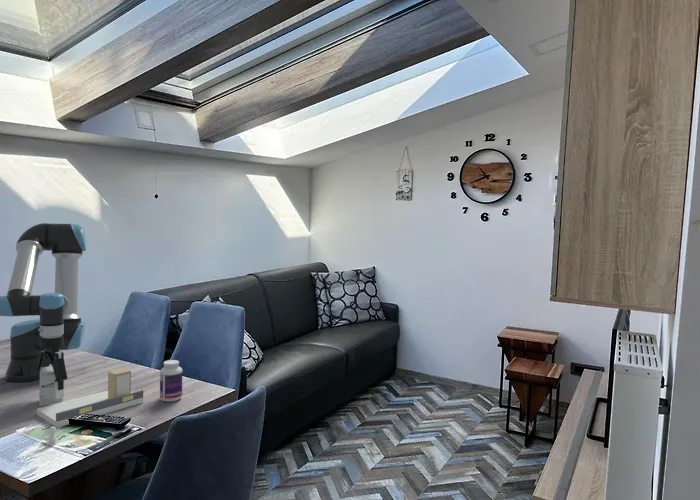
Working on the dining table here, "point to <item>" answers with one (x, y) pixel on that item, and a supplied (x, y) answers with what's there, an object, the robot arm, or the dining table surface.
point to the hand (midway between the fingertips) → (51, 393)
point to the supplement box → (47, 387)
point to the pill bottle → (171, 381)
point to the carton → (119, 382)
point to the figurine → (51, 437)
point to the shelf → (87, 406)
